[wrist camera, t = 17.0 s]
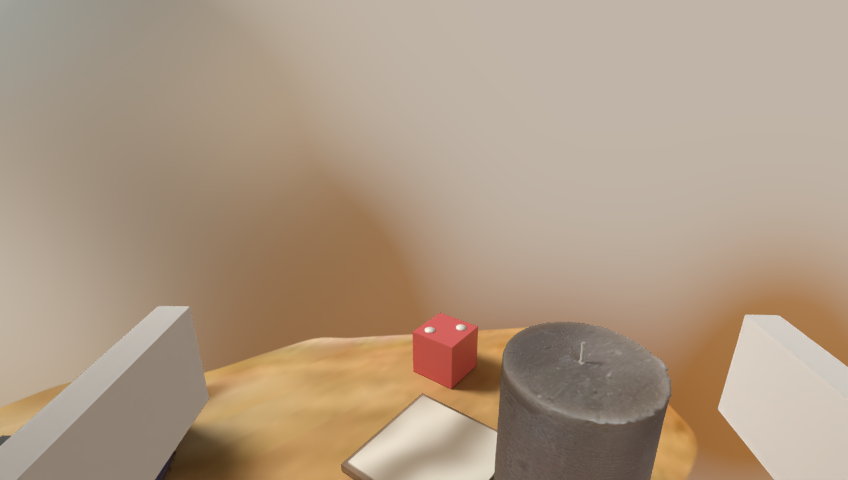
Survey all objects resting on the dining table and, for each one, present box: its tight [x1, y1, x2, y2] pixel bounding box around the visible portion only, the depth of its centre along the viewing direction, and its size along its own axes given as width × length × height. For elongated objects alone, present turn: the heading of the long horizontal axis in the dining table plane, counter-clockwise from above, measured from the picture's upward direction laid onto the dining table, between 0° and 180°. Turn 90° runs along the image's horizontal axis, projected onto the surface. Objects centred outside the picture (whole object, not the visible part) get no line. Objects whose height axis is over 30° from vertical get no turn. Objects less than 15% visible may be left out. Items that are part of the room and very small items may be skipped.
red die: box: [413, 313, 478, 389], centre depth 50 cm, size 5×5×5 cm
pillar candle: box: [494, 322, 671, 480], centre depth 30 cm, size 10×10×15 cm
